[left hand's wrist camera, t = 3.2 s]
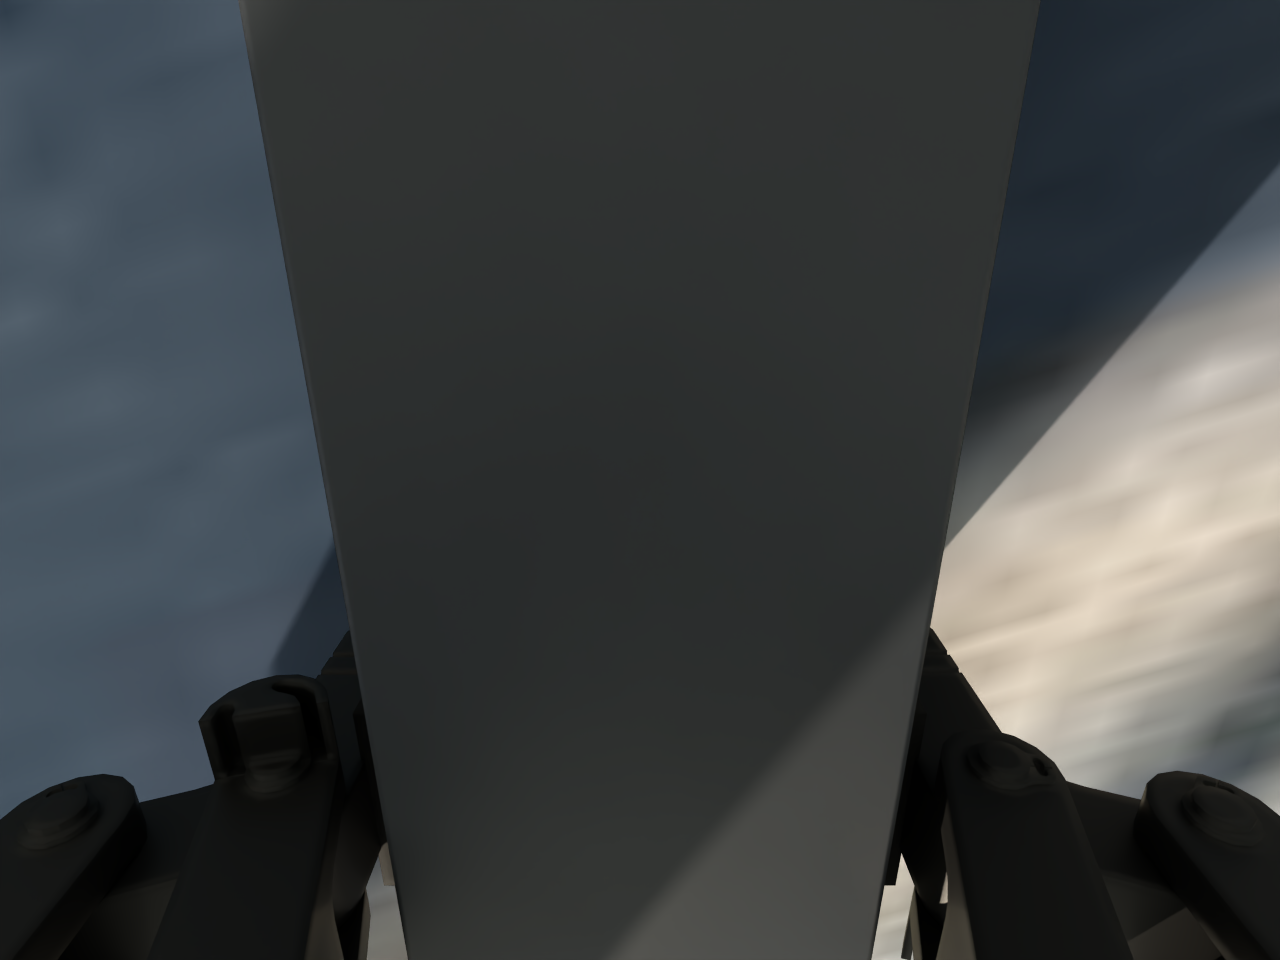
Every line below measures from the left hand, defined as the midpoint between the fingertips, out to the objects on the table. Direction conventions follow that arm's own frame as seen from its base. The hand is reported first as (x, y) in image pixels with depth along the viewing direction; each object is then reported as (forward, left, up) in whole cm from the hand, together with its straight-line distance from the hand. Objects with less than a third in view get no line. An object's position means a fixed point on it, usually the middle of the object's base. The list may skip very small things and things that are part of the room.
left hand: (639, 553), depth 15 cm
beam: (+7, +21, -1) cm, 22 cm away
